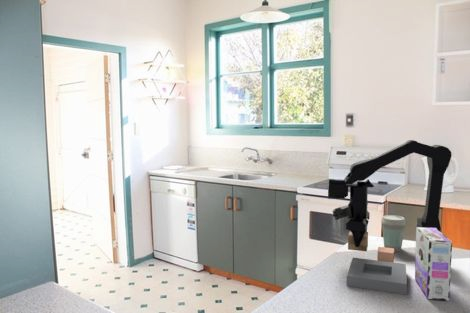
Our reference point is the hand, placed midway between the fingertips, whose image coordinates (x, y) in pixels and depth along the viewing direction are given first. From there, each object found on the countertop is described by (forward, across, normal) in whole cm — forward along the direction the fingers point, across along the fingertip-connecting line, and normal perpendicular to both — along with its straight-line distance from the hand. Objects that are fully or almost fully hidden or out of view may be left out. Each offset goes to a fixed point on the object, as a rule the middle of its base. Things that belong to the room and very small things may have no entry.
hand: (357, 244), depth 133 cm
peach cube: (+6, +1, +9) cm, 11 cm away
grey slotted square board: (+6, +15, +7) cm, 17 cm away
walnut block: (+1, 0, 0) cm, 1 cm away
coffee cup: (+6, -16, +11) cm, 20 cm away
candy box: (+6, +17, +22) cm, 28 cm away
